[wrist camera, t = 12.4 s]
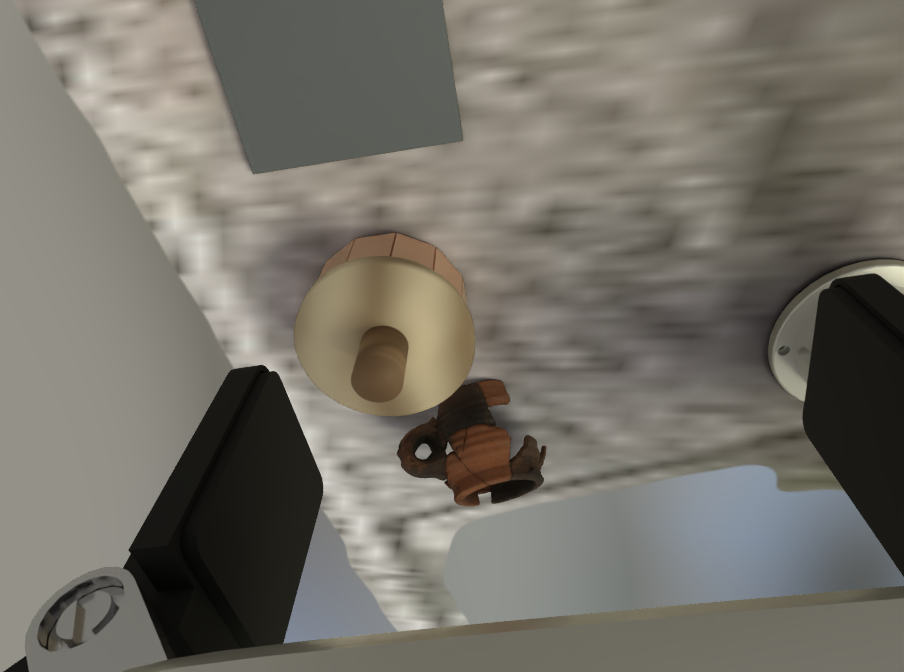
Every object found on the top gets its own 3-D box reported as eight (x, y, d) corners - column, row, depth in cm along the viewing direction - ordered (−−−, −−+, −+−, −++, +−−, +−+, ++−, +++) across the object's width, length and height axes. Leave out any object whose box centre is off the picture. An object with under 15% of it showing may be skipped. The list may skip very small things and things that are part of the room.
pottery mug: (538, 367, 50) (568, 464, 46) (514, 415, 58) (538, 501, 54) (390, 387, 48) (408, 491, 44) (387, 433, 56) (402, 525, 52)
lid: (458, 242, 38) (457, 281, 34) (486, 394, 45) (488, 444, 40) (274, 270, 40) (250, 311, 35) (326, 414, 46) (311, 464, 42)
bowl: (453, 221, 43) (452, 251, 39) (476, 351, 49) (476, 390, 45) (301, 243, 44) (283, 275, 40) (340, 368, 50) (328, 407, 46)
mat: (422, -129, 33) (421, -130, 32) (463, 138, 40) (462, 140, 39) (172, -78, 34) (167, -78, 34) (255, 171, 41) (253, 174, 41)
